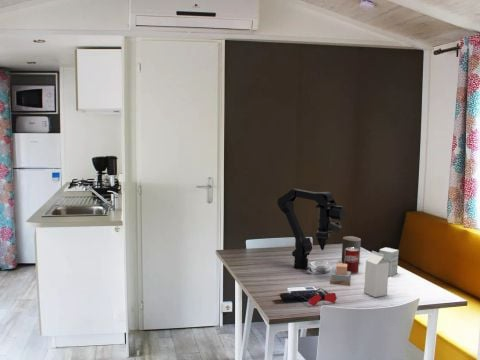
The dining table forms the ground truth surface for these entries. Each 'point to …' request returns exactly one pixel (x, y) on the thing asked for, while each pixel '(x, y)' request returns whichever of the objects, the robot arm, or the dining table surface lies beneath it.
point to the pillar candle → (350, 245)
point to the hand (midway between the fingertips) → (323, 247)
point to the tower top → (341, 276)
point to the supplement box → (391, 259)
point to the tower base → (340, 282)
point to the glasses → (317, 298)
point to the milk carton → (376, 275)
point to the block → (341, 269)
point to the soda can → (352, 260)
